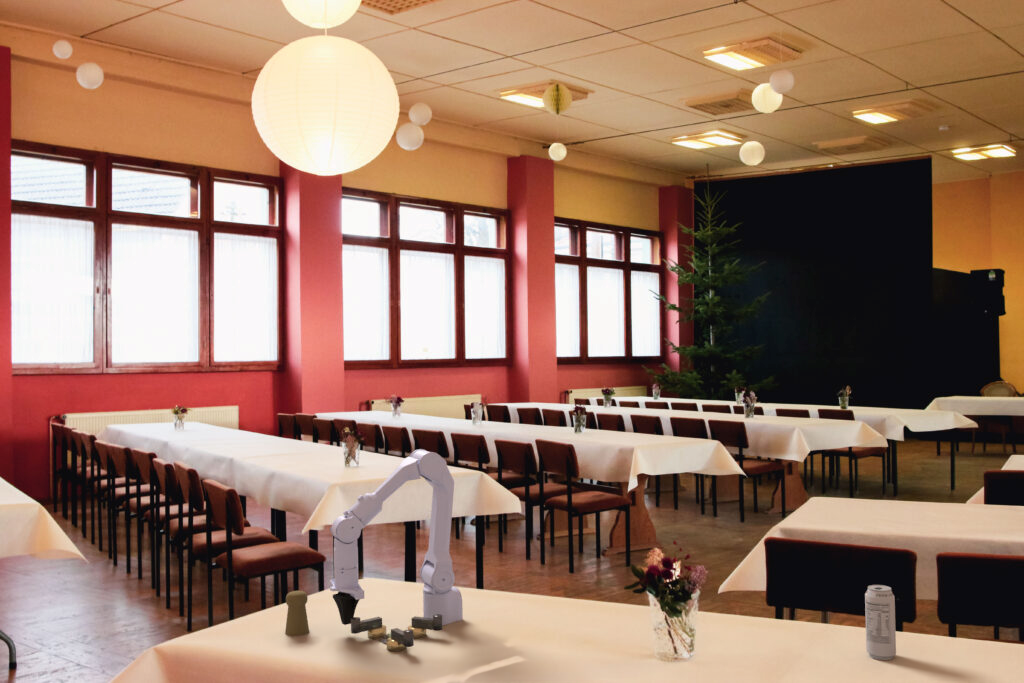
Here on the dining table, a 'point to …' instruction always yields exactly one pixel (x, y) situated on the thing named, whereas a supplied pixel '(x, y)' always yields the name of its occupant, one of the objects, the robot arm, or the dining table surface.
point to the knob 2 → (400, 640)
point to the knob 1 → (369, 627)
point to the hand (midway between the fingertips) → (347, 623)
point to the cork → (296, 614)
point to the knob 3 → (425, 625)
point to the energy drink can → (880, 622)
